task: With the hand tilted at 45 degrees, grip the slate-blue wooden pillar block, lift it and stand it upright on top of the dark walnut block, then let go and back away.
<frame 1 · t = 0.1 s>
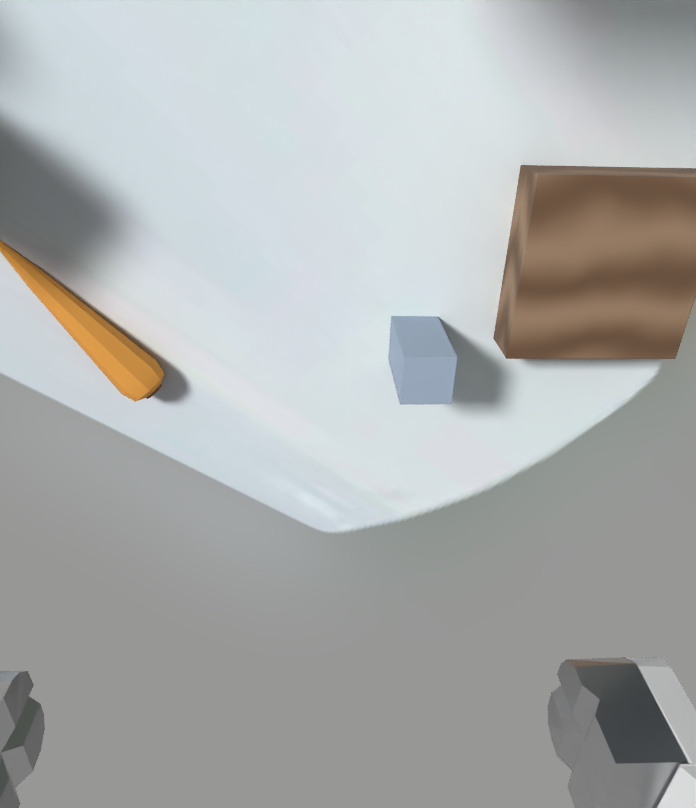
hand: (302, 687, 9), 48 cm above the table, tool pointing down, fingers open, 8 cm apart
slate pillar: (412, 338, 59), on the table
walnut block: (589, 257, 56), on the table
carrot: (81, 306, 56), on the table
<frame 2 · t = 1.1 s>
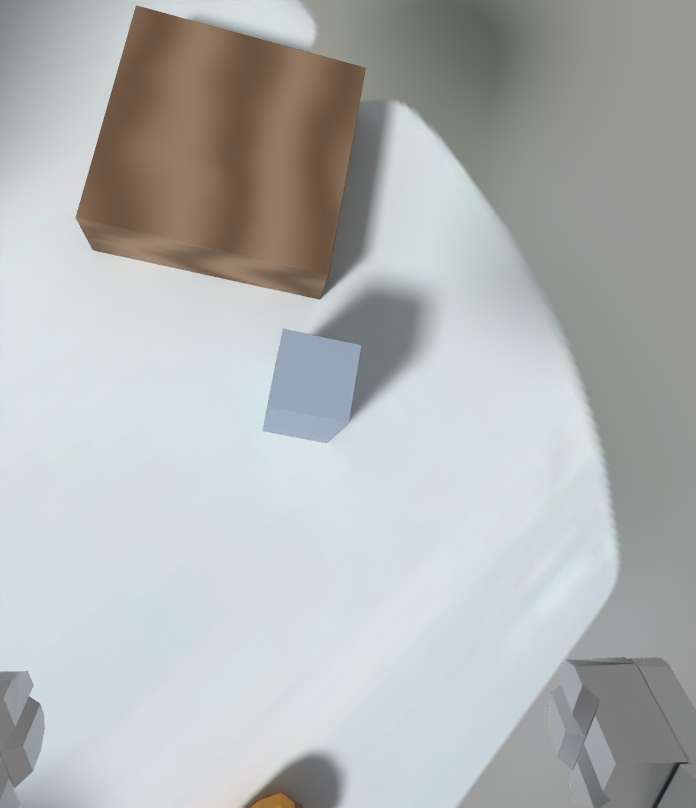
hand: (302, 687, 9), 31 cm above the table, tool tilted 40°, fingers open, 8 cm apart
slate pillar: (300, 405, 42), on the table
walnut block: (231, 179, 45), on the table
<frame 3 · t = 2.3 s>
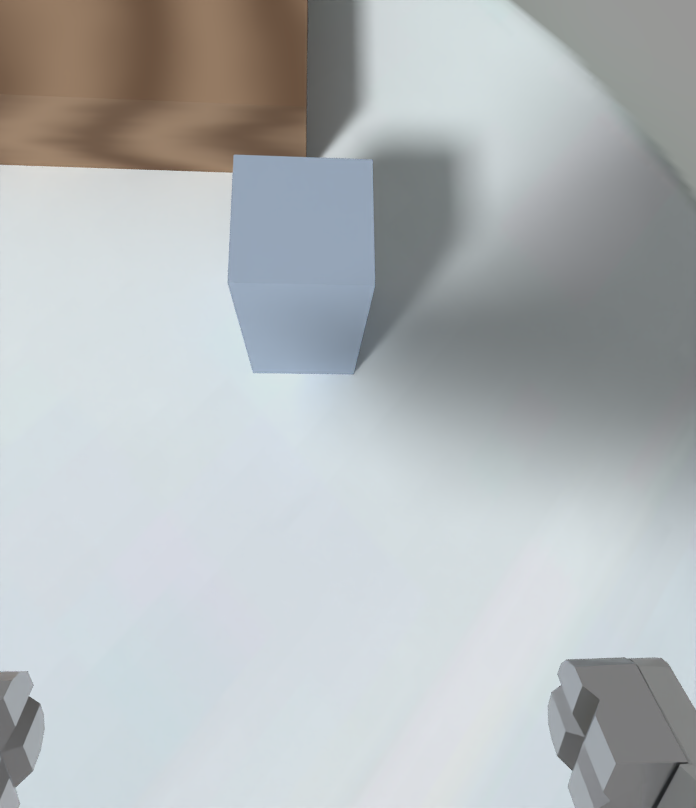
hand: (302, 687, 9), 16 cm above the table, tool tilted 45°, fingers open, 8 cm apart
slate pillar: (304, 326, 28), on the table
walnut block: (154, 41, 32), on the table
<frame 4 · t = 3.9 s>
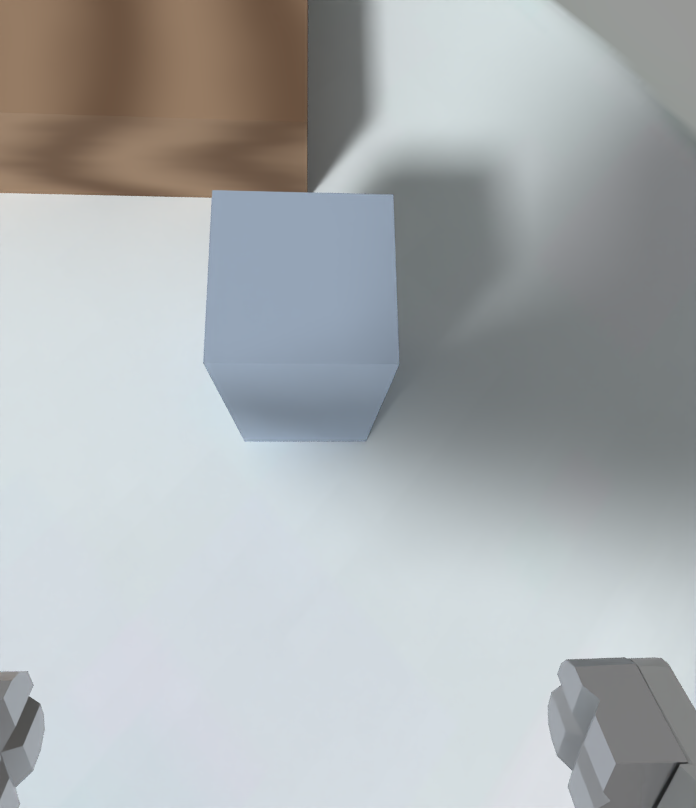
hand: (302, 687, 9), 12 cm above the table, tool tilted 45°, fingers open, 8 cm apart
slate pillar: (305, 383, 23), on the table
walnut block: (129, 44, 27), on the table
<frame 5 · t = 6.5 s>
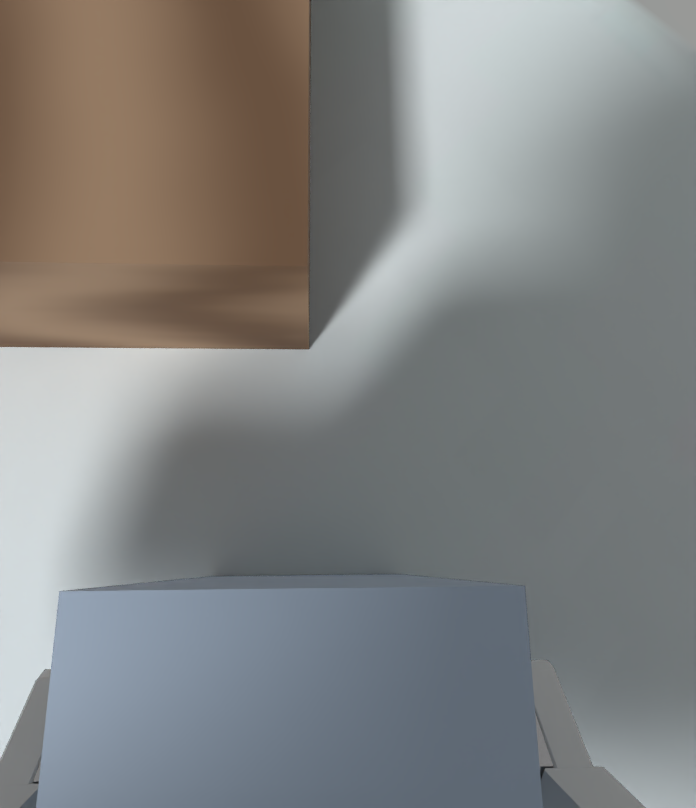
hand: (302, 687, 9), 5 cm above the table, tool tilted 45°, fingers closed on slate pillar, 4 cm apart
slate pillar: (305, 676, 14), on the table, touching gripper
walnut block: (41, 99, 18), on the table
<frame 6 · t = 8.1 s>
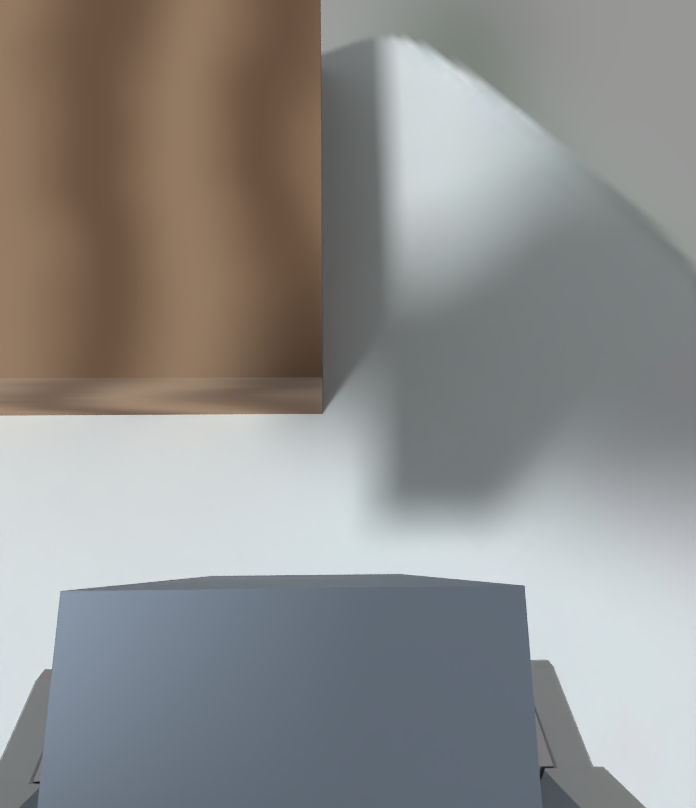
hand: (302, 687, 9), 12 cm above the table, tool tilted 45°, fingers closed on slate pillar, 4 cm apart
slate pillar: (305, 676, 14), point 7 cm above the table, touching gripper
walnut block: (128, 230, 25), on the table
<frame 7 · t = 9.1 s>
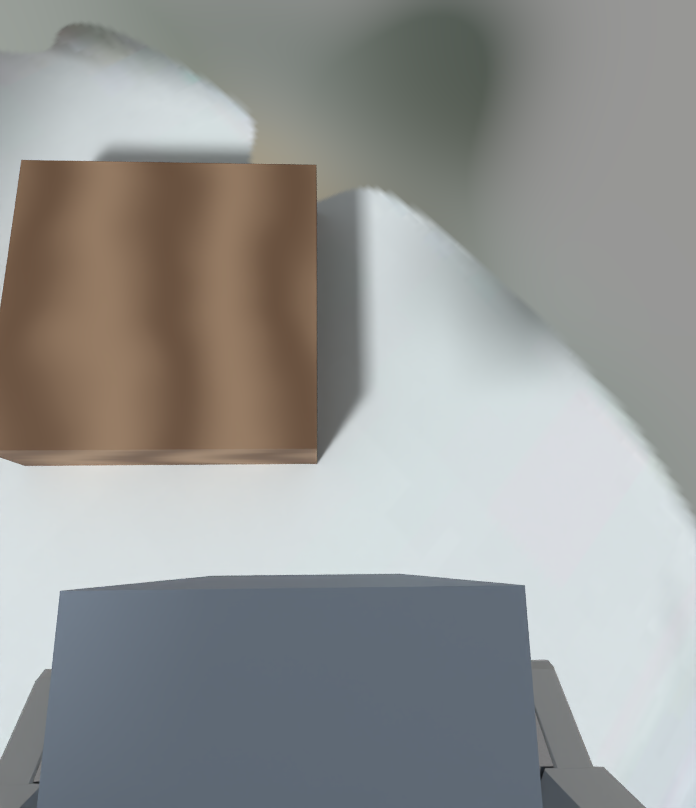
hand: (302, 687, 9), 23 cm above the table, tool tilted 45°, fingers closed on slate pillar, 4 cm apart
slate pillar: (305, 676, 14), point 19 cm above the table, touching gripper
walnut block: (182, 332, 36), on the table
when the fingers open (11 cm above the table, at t = 15.6 s): slate pillar drops 2 cm, resting on walnut block.
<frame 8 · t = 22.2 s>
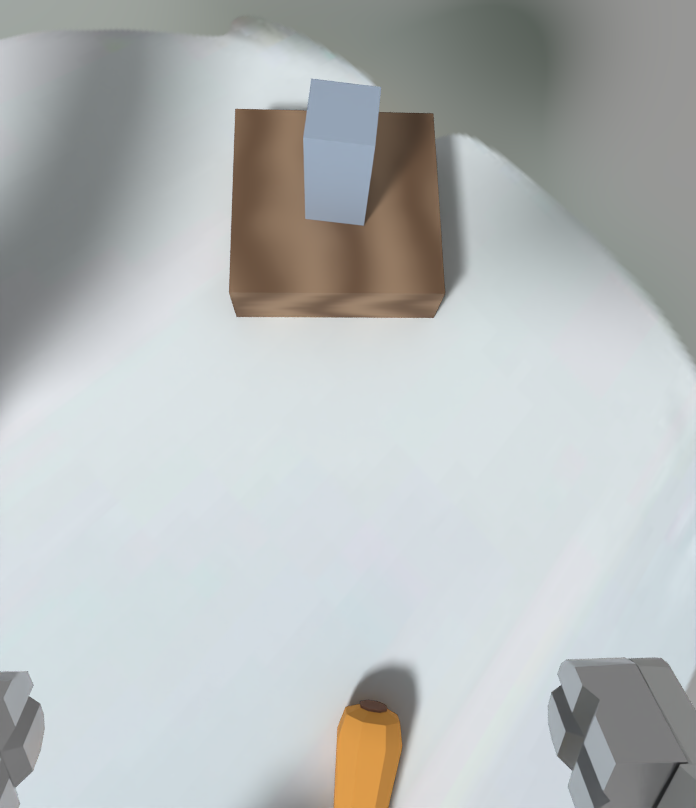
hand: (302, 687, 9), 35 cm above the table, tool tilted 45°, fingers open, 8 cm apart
slate pillar: (337, 196, 47), point 4 cm above the table, touching walnut block
walnut block: (334, 232, 52), on the table, touching slate pillar
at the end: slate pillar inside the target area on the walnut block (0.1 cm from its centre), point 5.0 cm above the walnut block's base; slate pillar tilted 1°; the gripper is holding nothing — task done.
